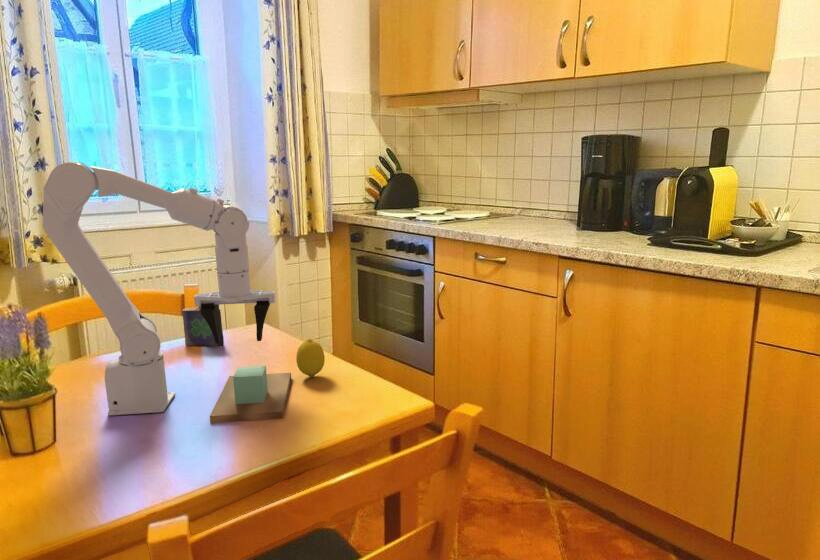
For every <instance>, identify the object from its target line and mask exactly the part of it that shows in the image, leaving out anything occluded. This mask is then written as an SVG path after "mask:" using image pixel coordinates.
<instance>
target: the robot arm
mask: <svg viewBox="0 0 820 560" xmlns="http://www.w3.org/2000/svg"><path fill="white" fill-rule="evenodd" d="M42 189H43V190H42V191H43V203H42V204H43V206H42V207H43V209H42V210H43V211H42V228H43V230H44V232H45V234H46V235H47V237H48V238H49V240H50V241H51V242H52V244H53V245H54V247H56V249H57V251H58V252H59V254H60V255H61V256H62V258H63V259H64V261H65V262H66V263H67V265H68V266H69V267H70V269H71V270H72V272H73V273H74V275H75V276H76V278H77V279H78V281H79V282H80V283H81V285H82V286H83V288H84V289H85V290H86V292H87V293H88V295H89V296H90V297H91V298H92V300H93V301H94V303H95V304H96V305H97V307H98V308H99V310H100V311H101V313H102V314H103V315H104V317H105V318H106V319H107V322H108V324H109V326H110V328H111V329H112V333H114V335H115V336H116V338H117V340H118V342H119V350H120V353H121V355H119V357H118V358H116V359H111V360H109V361H108V362H107V364H106V367H105V369H104V386H105V393H106V399H107V401H106V402H107V407H108V411H107V416H120V415H135V414H136V415H137V414H138V415H139V414H150V413H151V414H152V413H153V414H154V413H163V412H165V410H166V409H167V407H168V406H169V405H170V404H171V401H172V400H173V398H174V397H175V395H176V392H175V391H169V392H168V385H167V378H166V369H165V360H164V359H165V358H164V351H163V350H161V339H160V337H159V336H158V333H157V331H158V330H157V326H156V325H155V323H154V322H153V320H151V319H150V318H149V317H146V316H144V315H143V314H142V313H141V312H140V311H139V309H138V308H137V307H136V305H134V303H133V302H132V301H131V300H130V298H129V297H128V296H127V294H126V292H125V291H124V289H123V288H122V286H121V285H120V284H119V282H118V280H117V279H116V278H115V276H114V274H113V273H112V272H111V270H110V269H109V268H108V266H107V265H106V263H105V261H104V259H102V257H101V256H100V254H99V253H98V251H97V249H96V248H95V246H93V244H92V242H91V241H90V240H89V238H88V237H87V236H86V234H85V232H84V231H83V230H82V228H81V227H80V224H79V221H80V218H81V216H82V212H83V209H84V206H85V205H86V204H87V202H88V201H90V198H91V197H92V196H93V194H94V192H95V191H97V193H98V197H99V198H101V197H108V196H113V195H115V196H116V195H119V196H122V197H123V196H124V197H127V198H129V199H133V200H135V201H139V202H143V203H144V204H149V205H151V206H155V207H158V208H162V209H165V210H166V211H167V214H168V215H169V216H170V218H171V219H172V220H173V221H177V222H178V223H179V222H180V223H183V224H186V225H190V226H192V227H195V228H198V229H201V230H203V231H207V232H208V231H211V230H213V232H214V238H215V239H214V240H215V241H214V242H215V246H214V250H215V261H216V264H215V265H216V274H217V275H216V276H217V285H218V286H217V287H218V291H216V292H208V293H206V292H205V293H196V294H195V295H194V296H193V301H194V308H197V307H198V306H201V310H200V312H201V315H202V316H203V317H204V319H205V320H206V322H207V323H208V325H209V327H210V329H211V331H212V334H213V336H214V339H215V343H220V341H221V330H220V324H219V309H220V305H237V304H238V305H239V304H242V305H243V304H255V305H254V307H253V309H254V315H255V316H254V317H255V324H256V341H257V342H262V340H263V333H264V332H263V331H264V324H265V322H266V316H267V314H268V311H269V308H270V306H271V304H275V303H276V301H277V299H276V290H254V289H251V278H250V277H251V276H250V275H251V274H250V264H249V250H248V245H247V232H248V231H249V228H250V221H248V217H247V215H246V214H245V212H244V211H243V210H242V209H240V208H238V207H236V206H234V205H231V204H230V203H225V200H223V199H222V198H217V199H214V198H210V197H208V196H206V195H203V194H200V193H198V190H197V189H196V188H192V187H189V188H188V189H186V188H179V189H177V190H175V191H169V190H166V189H163V188H161V187H159V186H156V185H153V184H151V183H149V182H145V181H143V180H140V179H138V178H135V177H132V176H129V175H127V174H125V173H122V172H118V171H117V170H113V169H110V168H109V169H108V168H103V167H98V166H95V165H90V166H88V165H86V164H84V163H82V162H78V161H68V162H63V163H60V164H58V165H57V166H55V167H54V168H53V169H52V170H51V172H50V173H49V175H48V177H47V180H46V182H45V183H44V186H43V188H42Z"/></svg>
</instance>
